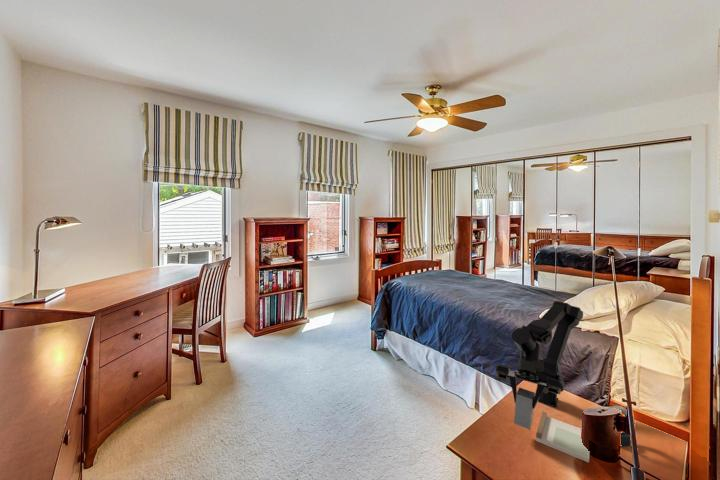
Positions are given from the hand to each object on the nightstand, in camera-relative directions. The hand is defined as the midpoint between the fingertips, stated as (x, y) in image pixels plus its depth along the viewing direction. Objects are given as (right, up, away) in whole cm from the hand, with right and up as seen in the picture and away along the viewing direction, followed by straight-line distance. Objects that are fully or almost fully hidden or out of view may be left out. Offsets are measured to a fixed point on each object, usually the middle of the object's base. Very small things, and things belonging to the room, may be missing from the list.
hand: (524, 405), depth 98 cm
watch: (+30, -12, +2) cm, 33 cm away
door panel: (+14, -12, +2) cm, 18 cm away
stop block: (+1, -6, +2) cm, 7 cm away
